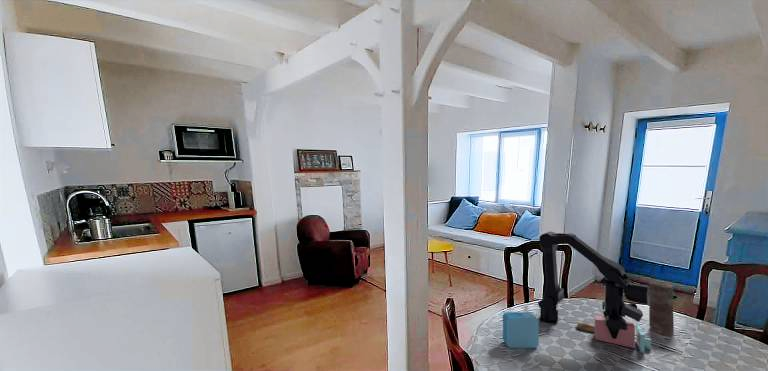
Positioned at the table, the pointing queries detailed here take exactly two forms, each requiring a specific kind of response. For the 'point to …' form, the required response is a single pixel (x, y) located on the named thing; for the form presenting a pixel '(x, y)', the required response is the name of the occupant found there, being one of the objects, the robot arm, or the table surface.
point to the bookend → (642, 340)
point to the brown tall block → (661, 308)
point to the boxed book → (622, 338)
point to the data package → (520, 330)
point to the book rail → (586, 326)
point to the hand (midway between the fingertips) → (613, 335)
